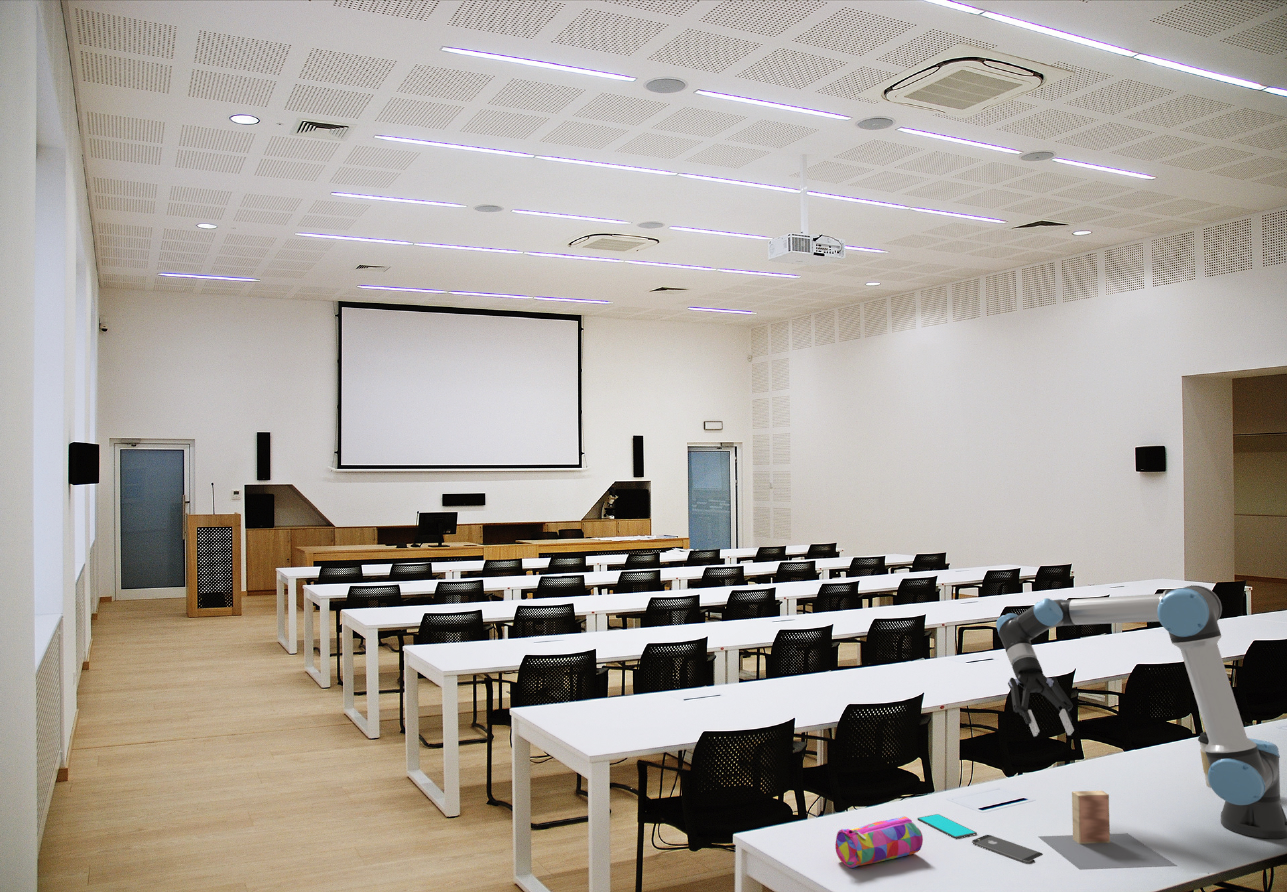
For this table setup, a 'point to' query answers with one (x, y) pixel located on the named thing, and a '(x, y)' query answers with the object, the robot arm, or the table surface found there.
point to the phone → (1007, 848)
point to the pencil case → (878, 842)
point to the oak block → (1090, 817)
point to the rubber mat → (1107, 852)
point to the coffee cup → (1204, 755)
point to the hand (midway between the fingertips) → (1053, 733)
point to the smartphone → (946, 826)
